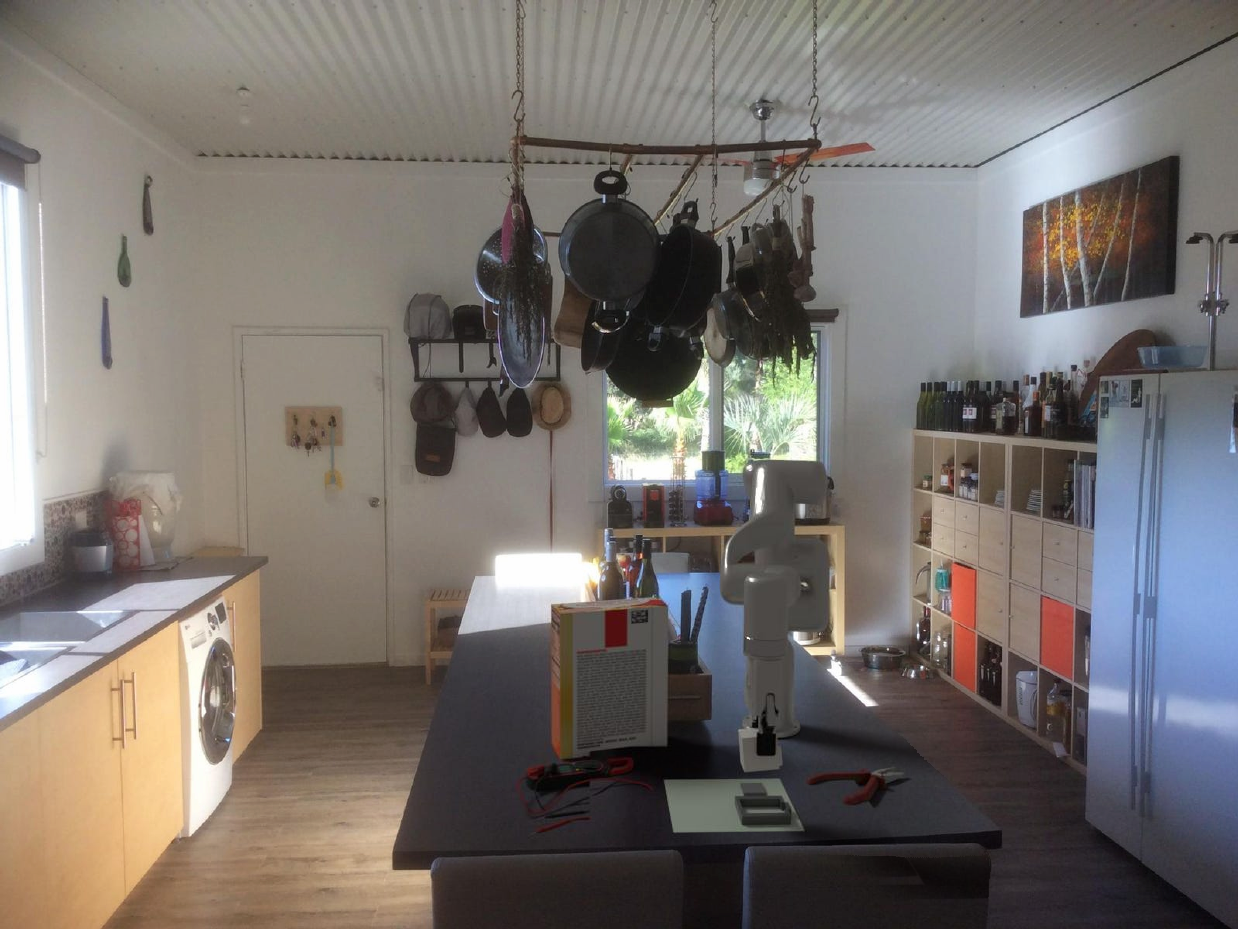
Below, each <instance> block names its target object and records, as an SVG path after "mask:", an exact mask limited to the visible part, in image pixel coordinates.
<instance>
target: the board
mask: <svg viewBox="0 0 1238 929" xmlns="http://www.w3.org/2000/svg"><path fill="white" fill-rule="evenodd" d="M663 784H664V787H665V794H666V798H667V799H666V800H667V805H668V809H669V815H670V820H671V821H670V822H671V825H672V832H673V833H677V834H679V833H742V832H744V833H747V832H748V833H749V832H754V833H755V832H758V833H761V832H763V833H764V832H766V833H767V832H770V833H771V832H805V829H804V826H803V825H802V822H801V820H800V818H799V816H798V814H797V812H796V810H795V808H794V806H793V803H792V801H791V799H790V797H789V795H788V793H787V791H786V789H785V787H784V785H783V783H782V780H781V779H780V778H730V779H729V778H728V779H727V778H726V779H725V778H723V779H722V778H719V779H717V778H714V779H711V778H710V779H709V778H708V779H707V778H705V779H700V778H699V779H695V778H694V779H663ZM735 796H782V797H783V799H784V801H785V802H788V803H789V805H790V807H791V825H742V824H741V821H740V818H739V815H738V812H737V809H736V807H735ZM742 808H743V811H744V813H784V811H781V809H780V807H742Z"/></svg>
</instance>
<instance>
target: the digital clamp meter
mask: <svg viewBox="0 0 1238 929" xmlns="http://www.w3.org/2000/svg"><path fill="white" fill-rule="evenodd" d="M618 765H622V766H619V767H613V766H618ZM611 766H612V767H613V768H611ZM633 768H634V760H633V758H632V757H628V756H625V757H624V756H623V757H617V758H616V757H615V758H607V759H605V758H604V757H603V758H600V757H599V758H597V759H595V760H594V759H588V760H580V761H579V760H578V761H571V762H569V761H568V762H563V763H556V762H552V763H551V764H547V765H546V764H545V765H544V764H538V766H529V767H528V768H527V769H526V771H525V775H524V776H523V777H520V778H519V780H518V782H517V791H518V794H519V796H520V799H521V800H522V803H523V804H524V807H525V808H526V809H527V811H528V812H529V813H531V814H533V815H538V814H539V815H540V814H543V813H544V812H547V811H548V810H550V809H551V808H552V807H553V806H554V805H555V804H557V802H559V800H561V798H562V797H563V796H564V794H566V792H567V791H568V790H569V789H570V788H572V787H574V786H579V784H580V785H586V784H590V783H591V782H593V781H610V780H611V781H612V780H613V781H615V780H616V781H615V782H612V783H611V784H609V785H608V786H606V787H604V788H603V789H601V790H599V791H598V792H596V793H594V794H592V795H590V796H591V797H594V796H597V795H599V794H601V793H602V792H604V791H605V790H607V789H609V788H610V787H612V786H613V785H615V784H617V783H618V782H627V783H630V784H638V785H642V786H645V787H648V788H649V789H650V790H652V791H654V789H653V787H651V786H650V785H649V784H647V783H644V782H639V781H633V780H634V779H632V780H630V779H629V778H625V779H622V778H618V777H611V776H617V775H622V774H626V773H629V772H630V771H631V770H632V769H633ZM609 776H610V777H609ZM524 779H525V785H526V787H527V788H528V789H529V790H532V791H534V790H535V791H534V796H535V799H536V801H537V803H538V806H539V807H540V808H541V809H542V810H541V811H533V810H531V808H529V806H528V805H527V802H526V801H525V800H524V797H523V795H522V793H521V789H520V783H521V781H523V780H524ZM556 787H557V788H563V787H567V788H566V789H565V790H564V791H563V792H562V794H560V796H559V797H558V798H557V799H556V800H555V801H553V803H552V804H550V806H548V807H546V808H544V807H543V805H542V804H541V802H540V801H539V800H540V799H539V798H538V795H537V791H541V790H547V789H549V790H550V789H557V788H556ZM590 796H587V797H584V798H582V799H580V800H578V801H576V802H574V803H573V804H570V805H569V806H567V807H573V806H575V805H578V803H581V802H583V801H585V800H588V799H590ZM589 812H590V810H586V811H585V810H578V811H577V810H575V811H568V812H561V813H560V812H559V813H554V814H553V813H550V814H548V815H545V816H544V817H542V819H554V818H560V817H568V816H574V815H575V816H577V815H583V814H586V813H589ZM537 819H538V820H540V819H541V817H538V818H537ZM586 819H587V820H588V819H590V816H582V817H575V818H566V819H565V820H562V821H560V822H557V823H553V824H551V825H548V826H544V827H543V826H542V827H540V829H538V830H536V831H535V832H533V833H530V834H529V836H532V835H535V834H540V833H542V832H543V833H545V832H546V831H548V830H552V829H555V828H557V827H560V826H563V825H566V824H570V823H572V821H577V820H579V821H580V820H586Z"/></svg>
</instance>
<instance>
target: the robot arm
mask: <svg viewBox="0 0 1238 929" xmlns="http://www.w3.org/2000/svg"><path fill="white" fill-rule="evenodd" d="M828 482H829V481H828V473H827V470H826V467H825V464H824V463H823V462H822V461H820V460H805V459H804V460H800V459H799V460H798V459H797V460H796V459H795V460H793V459H757V460H752V461H749V462H747V463H746V464H745V465H744V466H743V469H742V483H743V486H744V490H745V493H746V495H747V498H748V499H749V502H750V505H749V506H750V507H749V520H747V521H746V522H744V523H742V525H741V526H739V527H738V528H737V529H736V530H735V531H734V532H733V533H732V534H731V536H730V537H729V538H728V540H727V541H726V543H725V546H724V548H723V552H722V556H721V563H720V564H721V565H720V572H719V573H720V574H719V592H720V596H721V599H723V601H724V602H725V603H727V604H729V605H732V606H733V605H734V606H743V626H742V628H743V630H742V632H743V633H742V635H743V636H742V637H743V638H742V640H743V641H742V654H743V655H744V656H745V657H746V660H745V672H744V673H745V674H744V689H743V690H744V691H743V692H744V693H743V698H744V702H745V705H746V707H747V709H748V711H749V714H748V715H746V716H745V717H744V718H743V719H742V724H741V725H742V729H747V728H759V732H757V745H756V753H757V755H758V756H775V754H776V734H777V739H778V738H780V739H781V738H788V737H791V736H794V735H797V734H798V733H800V730H801V724H800V721H799V720H798V719H796V718H795V717H794V703H795V702H794V700H795V698H794V697H795V696H794V694H795V650H794V647H793V645H792V642H791V641H790V640H789V636H788V635H789V632H797V633H821V632H824V631H825V630H826V629H827V627H828V624H829V620H830V619H829V618H830V583H831V582H830V580H831V579H830V575H831V574H830V573H831V572H830V570H831V568H830V567H831V566H830V562H831V561H830V552H829V549H828V546H827V544H826V543H825V542H824V541H823V540H820V539H818V538H809V537H796V534H795V532H796V530H795V528H796V526H795V524H796V516H795V505H820V504H822V503H823V502H824V501H825V499H826V496H827V493H828V488H829V487H828V485H829V484H828ZM753 552H754V563H744V562H742V563H741V562H740V560H741V559H743V557H745V556H746V555H748V554H751V553H753ZM739 562H740V563H739ZM802 583H804V584H806V585H807V586H808V587H802Z"/></svg>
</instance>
